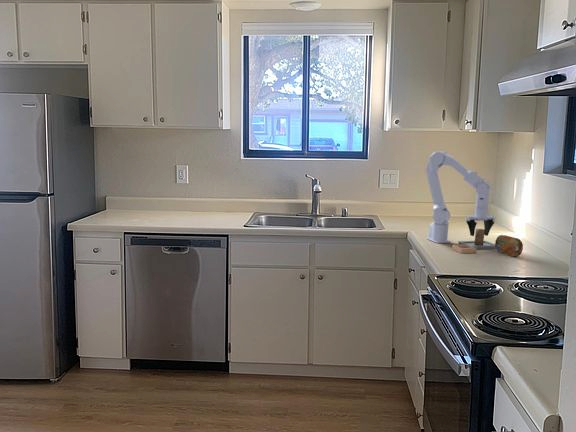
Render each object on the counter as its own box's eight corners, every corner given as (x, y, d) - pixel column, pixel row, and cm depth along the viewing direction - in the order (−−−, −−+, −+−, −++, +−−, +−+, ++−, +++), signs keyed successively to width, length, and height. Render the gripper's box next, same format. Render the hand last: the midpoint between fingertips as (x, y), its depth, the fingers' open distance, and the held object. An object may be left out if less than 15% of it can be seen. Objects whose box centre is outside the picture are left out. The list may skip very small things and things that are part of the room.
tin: (493, 251, 263) (495, 233, 262) (499, 250, 264) (501, 233, 263) (517, 258, 249) (519, 239, 248) (523, 258, 250) (525, 239, 249)
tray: (458, 244, 275) (458, 241, 275) (484, 243, 279) (485, 240, 279) (471, 249, 265) (471, 246, 264) (498, 248, 269) (498, 245, 268)
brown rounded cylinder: (472, 244, 273) (474, 228, 272) (480, 244, 274) (482, 228, 272) (476, 245, 269) (478, 230, 268) (484, 245, 270) (486, 230, 268)
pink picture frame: (451, 249, 263) (452, 245, 263) (466, 248, 265) (466, 244, 265) (461, 253, 256) (461, 248, 256) (475, 252, 258) (476, 248, 258)
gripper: (473, 208, 263) (470, 237, 265) (500, 208, 267) (497, 236, 269) (464, 206, 270) (462, 234, 272) (491, 206, 274) (488, 233, 276)
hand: (479, 235), depth 271 cm, fingers open, 7 cm apart
